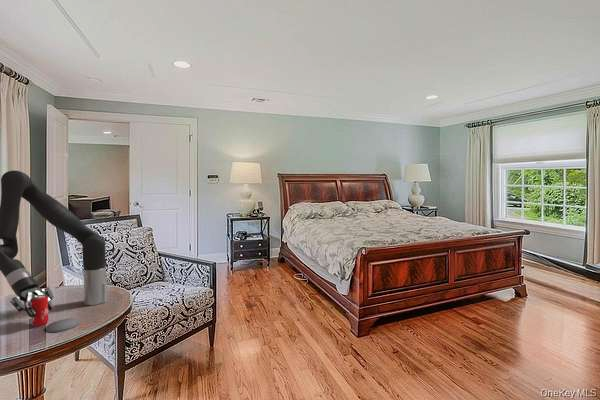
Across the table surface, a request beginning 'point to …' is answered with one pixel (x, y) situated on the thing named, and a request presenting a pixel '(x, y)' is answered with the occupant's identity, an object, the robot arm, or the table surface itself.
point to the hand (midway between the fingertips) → (43, 312)
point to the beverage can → (40, 310)
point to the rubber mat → (62, 325)
